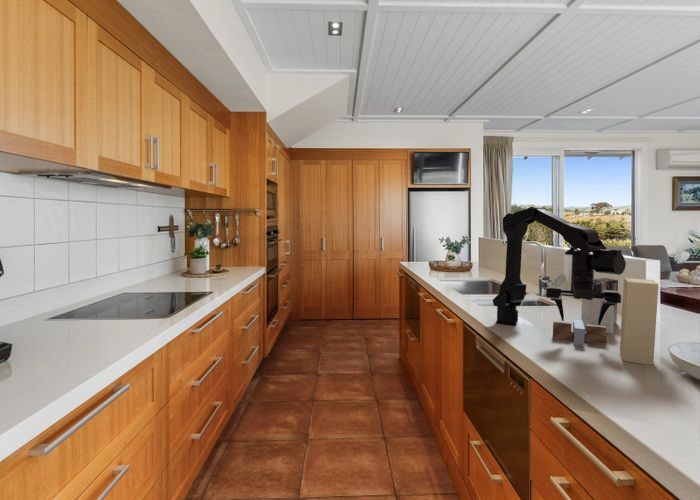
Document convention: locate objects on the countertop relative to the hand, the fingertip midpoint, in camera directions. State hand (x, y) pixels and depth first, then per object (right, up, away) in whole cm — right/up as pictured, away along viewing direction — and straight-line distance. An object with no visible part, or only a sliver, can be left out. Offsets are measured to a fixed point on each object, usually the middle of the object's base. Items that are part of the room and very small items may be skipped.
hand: (580, 322), depth 113 cm
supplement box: (+15, -6, +15) cm, 22 cm away
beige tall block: (+8, -7, -13) cm, 16 cm away
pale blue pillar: (+2, -6, +4) cm, 8 cm away
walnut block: (+2, -6, +4) cm, 8 cm away
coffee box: (+23, -5, +26) cm, 35 cm away
